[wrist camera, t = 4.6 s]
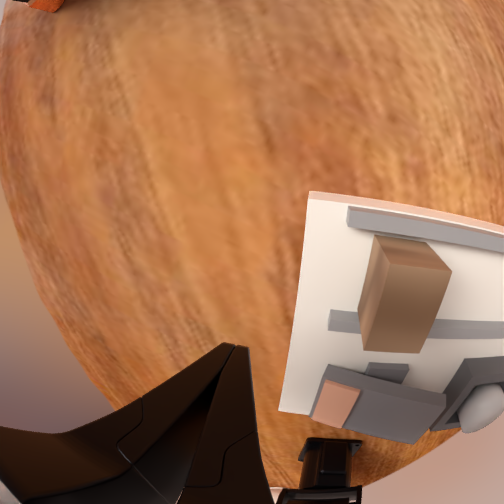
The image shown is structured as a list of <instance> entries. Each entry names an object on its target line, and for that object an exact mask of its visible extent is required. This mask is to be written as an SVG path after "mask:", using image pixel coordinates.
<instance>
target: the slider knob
mask: <svg viewBox="0 0 504 504" xmlns="http://www.w3.org/2000/svg"><path fill="white" fill-rule="evenodd" d="M451 274H452V270H451V269H450V268H449V267H448V266H447V265H446V264H445V262H444V261H443V260H442V259H441V258H440V257H439V256H438V255H437V254H436V252H435V251H434V250H433V249H432V248H431V247H430V246H429V245H428V244H427V243H426V242H422V241H415V240H409V239H402V238H396V237H389V236H382V235H375V234H374V237H373V243H372V248H371V253H370V258H369V262H368V267H367V272H366V276H365V280H364V284H363V289H362V293H361V297H360V300H359V304H358V308H357V311H358V317H359V323H360V330H361V337H362V344H363V351H375V352H391V353H417V354H419V353H420V351H421V349H422V347H423V345H424V343H425V341H426V339H427V336H428V334H429V332H430V330H431V327H432V325H433V323H434V320H435V318H436V316H437V313H438V311H439V308H440V306H441V303H442V300H443V298H444V295H445V292H446V289H447V286H448V284H449V281H450V278H451Z"/></svg>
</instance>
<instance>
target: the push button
mask: <svg viewBox="0 0 504 504" xmlns="http://www.w3.org/2000/svg"><path fill="white" fill-rule="evenodd" d="M503 411H504V393H503V390H502V388H501V386H500V384H499V382H496V383H489V384H482V385H478V386H477V387H475V388H474V389H472V391H471V392H470V393H469V395H468V396H467V397H466V399H465V400H464V401H463V403H462V404H461V405H460V406H459V408H458V409H457V414H458V417H459V421H460V425H461V429H462V432H464V433H471V432H475V431H478V430H480V429H482V428H484V427H486V426H487V425H489V424H490V423H492V422H493V421H494V420H495V419H497V417H499V416H500V415H501V414H502V412H503Z"/></svg>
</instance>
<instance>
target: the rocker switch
mask: <svg viewBox="0 0 504 504" xmlns="http://www.w3.org/2000/svg"><path fill="white" fill-rule="evenodd" d="M445 408H446V394H442V393H437V392H432V391H427V390H423V389H418V388H414V387H409V386H405V385H401V384H397V383H393V382H389V381H385V380H381V379H377V378H374V377H370V376H366V375H363V374H359V373H356V372H352V371H349V370H346V369H342V368H339V367H336V366H333V365H329V364H328V365H327V367H326V369H325V372H324V374H323V376H322V379H321V382H320V385H319V388H318V391H317V394H316V397H315V400H314V403H313V406H312V409H311V411H310V414H309V417H311V418H312V420H314V421H317V422H320V423H323V424H326V425H330V426H333V427H336V428H339V429H341V427H342V428H345V429H349V430H352V431H356V432H359V433H363V434H367V435H371V436H375V437H379V438H383V439H388V440H392V441H397V442H402V443H407V444H413V445H414V444H415V443H416V442H417V440H418V439H419V438H420V437H421V436H422V435H423V434H424V433H425V432H426V431H427V430H428V428H429V427H430V426H431V425H432V424H433V423H434V421H435V420H436V419H437V418H438V417H439V415H440V414H441V413H442V412H443V410H444V409H445Z"/></svg>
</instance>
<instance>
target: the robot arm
mask: <svg viewBox="0 0 504 504" xmlns="http://www.w3.org/2000/svg"><path fill="white" fill-rule="evenodd" d="M361 445H362V441H351V440H330V439H318V438H308V439H307V440H306V442H305V444H304V446H303V448H302V451H301V453H300V455H299V457H298V461H302V462H303V467H302V473H301V478H300V484H299V489H288V488H283V489H282V491H281V492H280V494H279V496H278V499H277V502H276V504H361V498H362V485H358V486H355V487H350V482H351V466H352V457H353V455H354V454H355V453H356V452H357V451H358V449H359V448H360V447H361ZM182 490H183V491H182ZM181 492H182V494H181ZM180 494H181V496H180ZM179 496H180V498H179ZM178 498H179V500H178V502H177V504H275V503H274V500H273V497H272V494H271V490H270V487H269V484H268V481H267V478H266V474H265V470H264V466H263V462H262V459H261V452H260V446H259V438H258V432H257V421H256V411H255V402H254V392H253V382H252V372H251V362H250V352H249V347H246V346H241V345H237V346H236V345H234V344H231V343H226V342H223V343H221V344H220V345H218V346H217V347H215V348H214V349H213V350H211V351H210V352H208V353H207V354H205V355H204V356H202V357H201V358H200V359H198V360H197V361H195V362H194V363H192V364H191V365H189V366H188V367H186V368H185V369H183V370H182V371H180V372H179V373H177V374H176V375H174V376H173V377H171V378H170V379H168V380H167V381H165V382H163V383H162V384H160V385H159V386H157V387H156V388H154V389H152V390H151V391H149V392H148V393H146V394H145V395H143V396H142V398H141V397H139V398H138V399H136V400H135V401H133V402H131V403H130V404H128V405H126V406H124V407H123V408H121V409H119V410H117V411H115V412H113V413H111V414H109V415H107V416H105V417H102V418H100V419H97V420H95V421H93V422H90V423H88V424H85V425H83V426H81V427H78V428H75V429H73V430H70V431H67V432H63V433H55V434H50V433H40V432H32V431H25V430H18V429H13V428H8V427H3V426H0V504H175V503H176V501H177V499H178ZM350 500H356V502H351V503H349V501H350Z"/></svg>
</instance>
